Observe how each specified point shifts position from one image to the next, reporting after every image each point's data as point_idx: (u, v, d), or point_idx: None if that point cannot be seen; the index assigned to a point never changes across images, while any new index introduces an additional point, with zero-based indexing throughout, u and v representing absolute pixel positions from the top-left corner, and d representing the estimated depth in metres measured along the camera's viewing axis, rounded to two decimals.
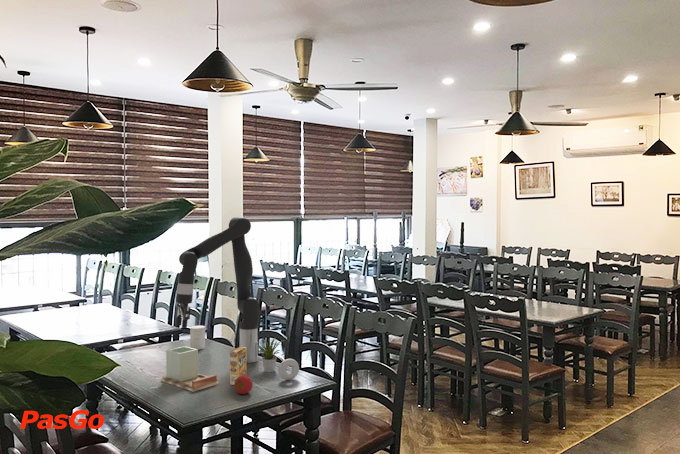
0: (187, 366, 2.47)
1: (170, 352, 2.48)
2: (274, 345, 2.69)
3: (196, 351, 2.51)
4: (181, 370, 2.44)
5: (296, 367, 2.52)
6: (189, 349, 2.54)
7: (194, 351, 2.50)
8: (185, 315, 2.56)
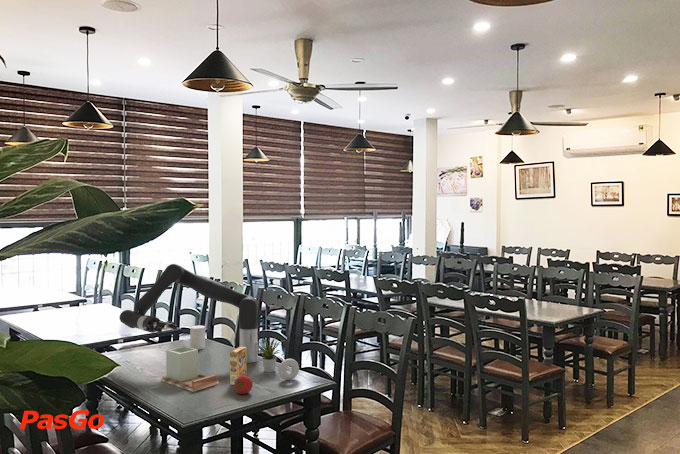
0: (187, 366, 2.47)
1: (170, 352, 2.48)
2: (274, 345, 2.69)
3: (196, 351, 2.51)
4: (181, 370, 2.44)
5: (296, 367, 2.52)
6: (189, 349, 2.54)
7: (194, 351, 2.50)
8: (148, 330, 2.55)
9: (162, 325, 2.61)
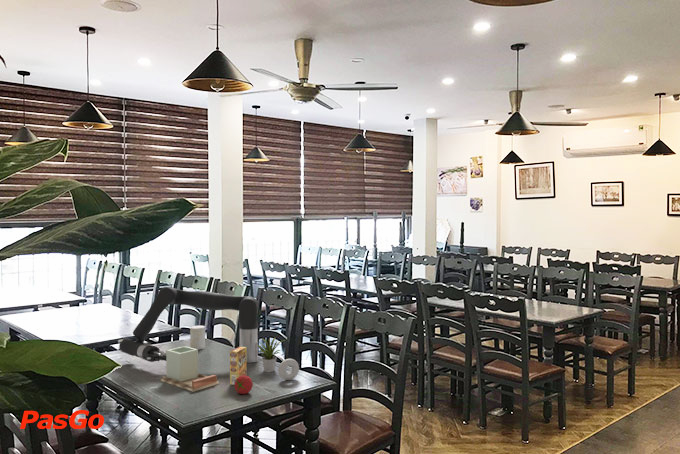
0: (187, 366, 2.47)
1: (170, 352, 2.48)
2: (274, 345, 2.69)
3: (196, 351, 2.51)
4: (181, 370, 2.44)
5: (296, 367, 2.52)
6: (189, 349, 2.54)
7: (194, 351, 2.50)
8: (155, 360, 2.57)
9: None
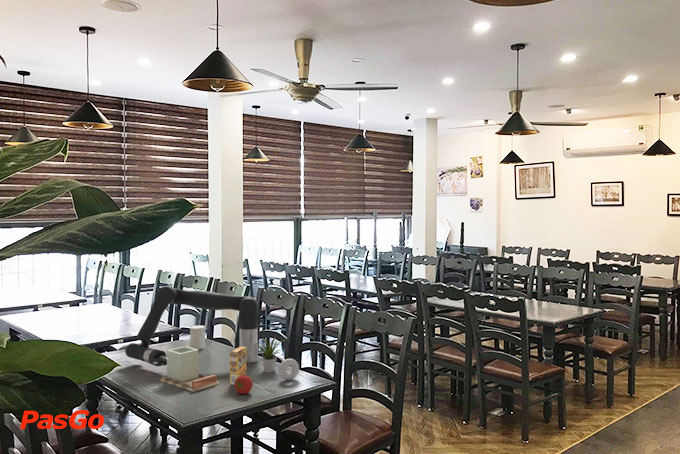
0: (188, 366, 2.47)
1: (171, 352, 2.47)
2: (274, 345, 2.69)
3: (197, 351, 2.50)
4: (182, 370, 2.44)
5: (296, 367, 2.52)
6: (190, 349, 2.53)
7: (195, 351, 2.49)
8: (162, 364, 2.54)
9: (164, 359, 2.58)
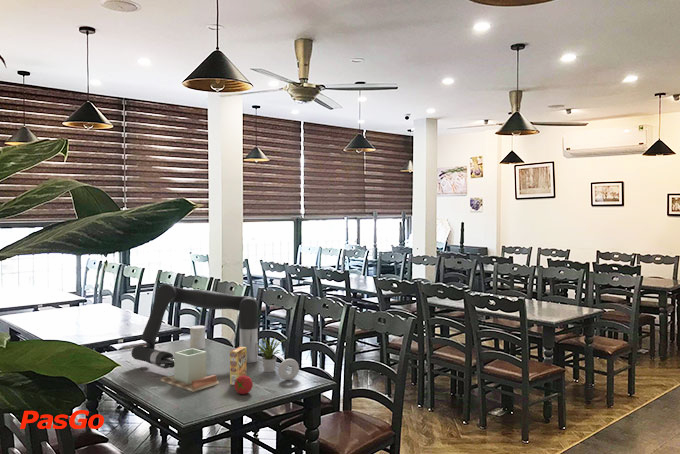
0: (196, 369, 2.43)
1: (178, 354, 2.44)
2: (274, 345, 2.69)
3: (204, 353, 2.47)
4: (189, 373, 2.41)
5: (296, 367, 2.52)
6: (197, 351, 2.50)
7: (202, 353, 2.46)
8: (169, 367, 2.50)
9: (171, 361, 2.54)
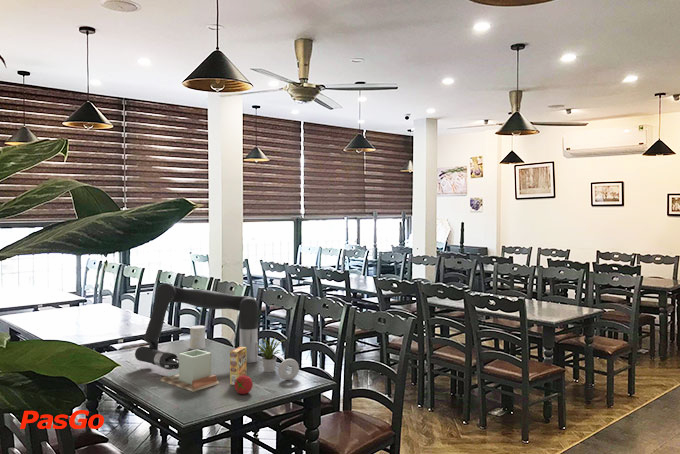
0: (200, 370, 2.41)
1: (183, 356, 2.42)
2: (274, 345, 2.69)
3: (209, 354, 2.45)
4: (194, 374, 2.39)
5: (296, 367, 2.52)
6: (202, 352, 2.48)
7: (207, 354, 2.44)
8: (173, 368, 2.48)
9: (175, 362, 2.52)
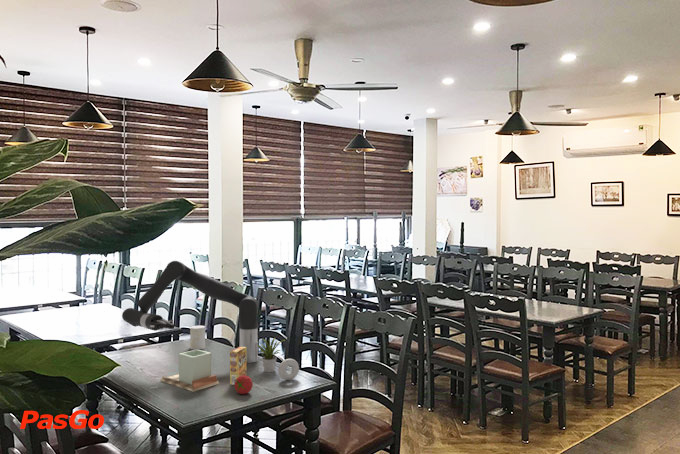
0: (200, 370, 2.41)
1: (183, 356, 2.42)
2: (274, 345, 2.69)
3: (209, 354, 2.45)
4: (194, 374, 2.39)
5: (296, 367, 2.52)
6: (202, 352, 2.48)
7: (207, 354, 2.44)
8: (158, 328, 2.55)
9: None
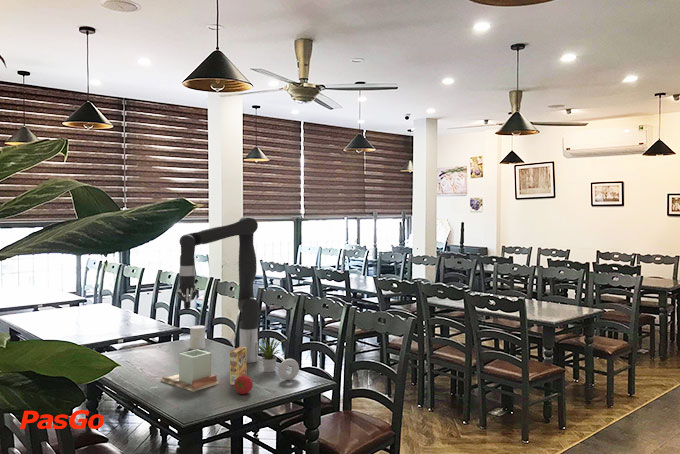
0: (200, 370, 2.41)
1: (183, 356, 2.42)
2: (274, 345, 2.69)
3: (209, 354, 2.45)
4: (194, 374, 2.39)
5: (296, 367, 2.52)
6: (202, 352, 2.48)
7: (207, 354, 2.44)
8: (179, 298, 2.69)
9: None
